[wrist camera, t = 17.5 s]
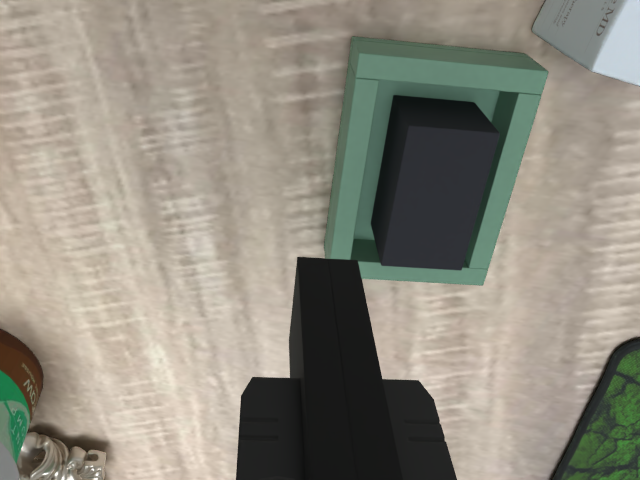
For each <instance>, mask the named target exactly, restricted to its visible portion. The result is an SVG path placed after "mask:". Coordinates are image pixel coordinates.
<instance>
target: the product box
mask: <svg viewBox="0 0 640 480" xmlns="http://www.w3.org/2000/svg"><path fill="white" fill-rule="evenodd" d="M532 32H533V33H534V34H536V35H537V36H539V37H540V38H541V39H543V40H544V41H546V42H547V43H549V44H550V45H552V46H553V47H555V48H556V49H558V50H559V51H560V52H562V53H564V54H565V55H566V56H568V57H570V58H571V59H573V60H574V61H576V62H577V63H579V64H580V65H582V66H584V67H585V68H587V69H588V70H590V71H592V72H595V73H598V74H601V75H604V76H607V77H611V78H614V79H617V80H620V81H623V82H627V83H630V84H633V85H636V86H639V87H640V0H546V1H545V3H544V5H543V7H542V9H541V11H540V13H539V15H538V16H537V18H536V20H535V22H534V24H533V27H532Z"/></svg>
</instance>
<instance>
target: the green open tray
mask: <svg viewBox="0 0 640 480" xmlns="http://www.w3.org/2000/svg"><path fill="white" fill-rule="evenodd" d="M547 76H548V71H547V70H546V69H545V68H543V67H542V66H541V65H539V64H538V63H537V62H536V61H534V60H533V59H532V58H530V57H529V56H528V55H526V54H524V53H514V52H504V51H494V50H484V49H474V48H464V47H454V46H444V45H434V44H424V43H414V42H404V41H394V40H384V39H374V38H364V37H354V36H353V37H352V39H351V47H350V54H349V62H348V69H347V77H346V84H345V92H344V99H343V107H342V114H341V122H340V129H339V137H338V144H337V152H336V159H335V167H334V174H333V182H332V189H331V197H330V204H329V212H328V219H327V227H326V234H325V242H324V251H325V258H326V259H346V260H358V264H359V269H360V274H361V278H362V279H378V280H396V281H413V282H430V283H448V284H465V285H483V284H484V281H485V278H486V274H487V271H488V268H489V264H490V261H491V258H492V255H493V251H494V248H495V245H496V242H497V238H498V235H499V232H500V229H501V225H502V222H503V219H504V216H505V212H506V209H507V206H508V203H509V199H510V196H511V193H512V190H513V186H514V183H515V180H516V177H517V173H518V170H519V167H520V164H521V161H522V157H523V154H524V151H525V148H526V144H527V141H528V138H529V135H530V131H531V128H532V125H533V122H534V118H535V115H536V112H537V109H538V105H539V102H540V99H541V94H542V92H543V89H544V85H545V82H546V79H547ZM393 95H401V96H412V97H423V98H434V99H445V100H456V101H467V102H475V103H476V105H477V106H478V107H479V108H480V110H481V111H482V112H483V113H484V114H485V116H486V117H487V118H488V119H489V120H490V122H491V123H492V124H493V125H494V127H495V128H496V129H497V130H498V131H499V133H500V136H499V139H498V143H497V146H496V150H495V154H494V157H493V161H492V164H491V168H490V171H489V175H488V178H487V182H486V186H485V189H484V193H483V196H482V200H481V203H480V207H479V210H478V214H477V218H476V221H475V225H474V228H473V232H472V235H471V239H470V242H469V246H468V250H467V253H466V257H465V260H464V264H463V267H462V270H461V271H460V270H443V269H426V268H410V267H393V266H381V263H380V259H379V255H378V251H377V247H376V243H375V239H374V235H373V231H372V227H371V218H372V213H373V207H374V201H375V196H376V190H377V185H378V179H379V173H380V168H381V162H382V156H383V151H384V145H385V139H386V134H387V128H388V122H389V117H390V111H391V105H392V100H393Z"/></svg>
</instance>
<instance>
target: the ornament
mask: <svg viewBox="0 0 640 480" xmlns="http://www.w3.org/2000/svg"><path fill="white" fill-rule="evenodd" d="M41 451H46V455H45V459H35V457H36V456H37V455H38V454H39V453H40V452H41ZM105 462H106V453H104V452H101V451H98V450H89V451H88V453H86V451H85V450H83V449H82V448H81V447H77V446H75V447H73V448H71V450H70V452H69V450H68V448H67V447H66V445H65V444H64V443H63V442H61V441H60V440H58V439H56V438H52V437H48V436H46V435H39V434H38V433H36V432H30V433H27V434H26V437H25V440H24V443H23V446H22V449H21V452H20V455H19V457H18V460H17V463H16V465H17V469H18V472H19V478H20V480H104V478H105V470H104V465H105Z"/></svg>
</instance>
